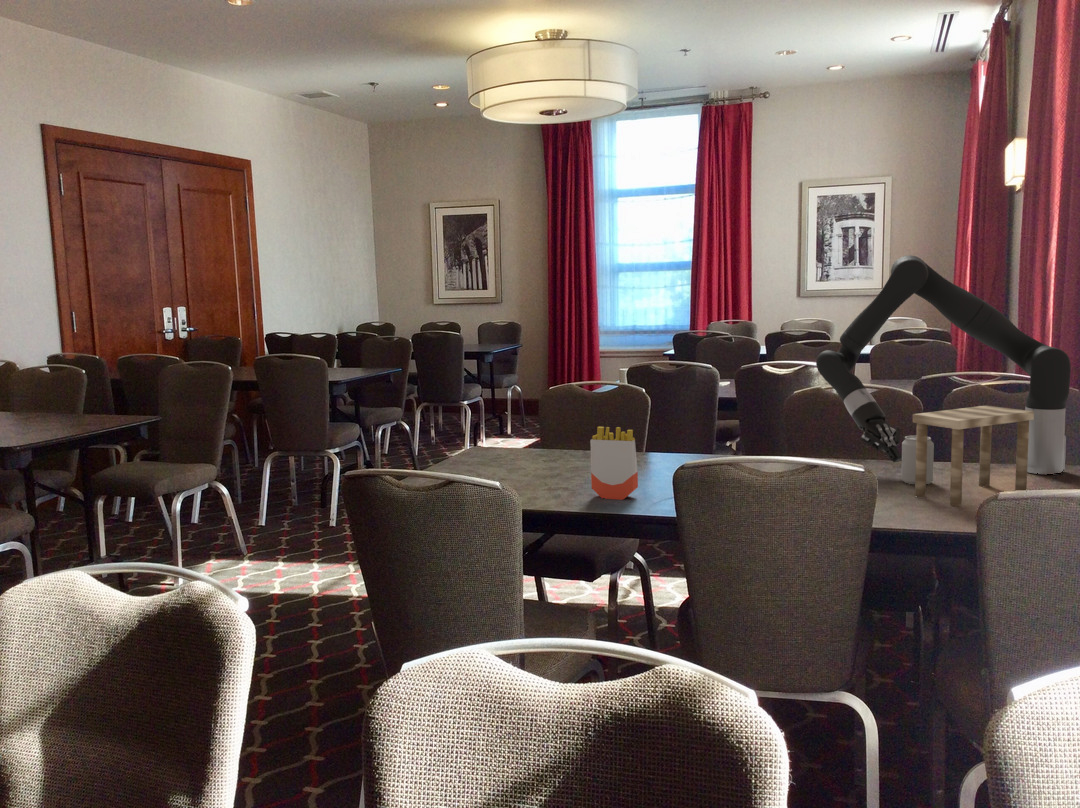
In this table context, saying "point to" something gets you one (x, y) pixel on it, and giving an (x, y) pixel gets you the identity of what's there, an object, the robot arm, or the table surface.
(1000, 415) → the stand
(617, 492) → the french fries container
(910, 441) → the can
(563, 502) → the table surface
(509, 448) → the table surface
